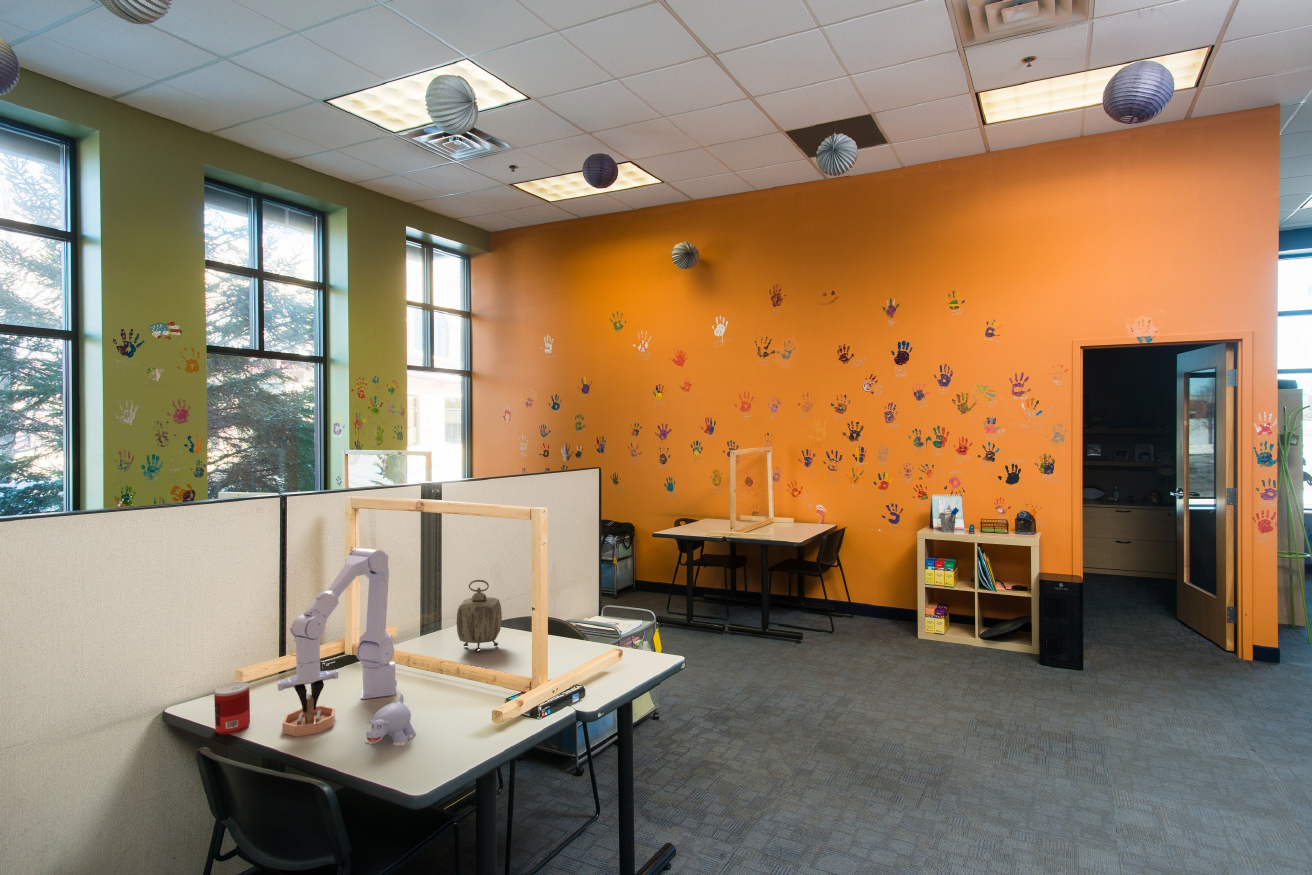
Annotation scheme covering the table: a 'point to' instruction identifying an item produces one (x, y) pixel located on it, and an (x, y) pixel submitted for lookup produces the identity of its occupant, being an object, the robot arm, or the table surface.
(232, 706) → the canned food
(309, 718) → the brown rectangular block
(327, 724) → the dish
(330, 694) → the table surface
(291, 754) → the table surface
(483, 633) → the tabletop clock
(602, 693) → the table surface
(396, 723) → the hippopotamus toy
